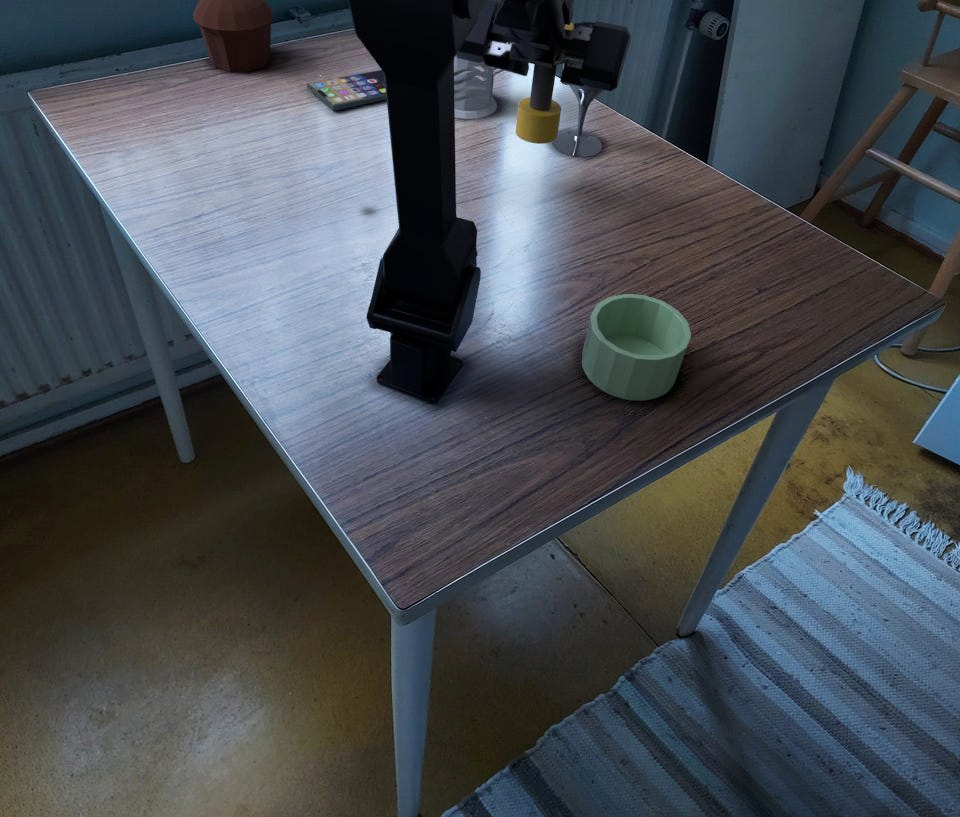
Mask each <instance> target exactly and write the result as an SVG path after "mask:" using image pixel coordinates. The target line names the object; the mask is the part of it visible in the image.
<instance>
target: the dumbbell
mask: <svg viewBox="0 0 960 817" xmlns="http://www.w3.org/2000/svg"><path fill="white" fill-rule="evenodd" d="M573 24H574V23H573V22H571V23H570V25H566V24H565V29H566V30H571V31H573V30H574V25H573ZM566 39H567V38H566ZM561 55H562V54H561ZM565 57H566V55H564V60H563V62H562V63H557V62H554V66H553V68H550V67H545V66H540V65H536V64H533V72H532V80H531V89H530V96H528V97H525V98H522V99H521V100H520V101H519V102H518V106H517V115H516V124H515V134H516V136H517V137H518V138H519V139H521V140H522V141H524V142H528V143H532V144H537V145H538V144H539V145H541V144H543V145H544V144H549V143H552V141H554V140H555V139H556V138H557V134H559V128H560V122H561V116H562V115H561V114H562V106H561V104H560V103H559V102H558V101H555V100H554V99H553V95H554V89H555V80H556V74H557V67H558V66H559V65H563V63H565V62H566V58H565Z"/></svg>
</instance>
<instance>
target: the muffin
mask: <svg viewBox="0 0 960 817" xmlns="http://www.w3.org/2000/svg"><path fill="white" fill-rule="evenodd" d="M192 15H193V21H194V23H195V24H196V25H197V26H198V27H199V31H200V33H201V36H202V39H203V42H204V45H205V48H206V49H205V50H206V52H207V55H208V58H209V60H210V62H211V63H212V64H213V66H214V68H216V69H220V70H224V71H226V72H229V73H237V72H238V73H239V72H241V73H250V72H252V71H253V72H254V71H256V70H259V69H263V68H265V67H266V65H267V63H268V62H269V61H270V60H271V40H272V38H271V36H272V34H271V33H272V22H273V20H274V19H275V14H274V11H273V9H272V8H271V6H270V4H269V3H268V2H267V0H198V2H197V4H196V6H195V8H194V11H193V13H192Z"/></svg>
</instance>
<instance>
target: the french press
mask: <svg viewBox="0 0 960 817" xmlns="http://www.w3.org/2000/svg"><path fill="white" fill-rule="evenodd" d="M496 14H497V13H496ZM495 17H496V15H495ZM476 67H477V68H476ZM478 67H480V68H481V69H482V70H480V69H478ZM495 70H498V69H497V68H494V67H489V66H487V65H485V63H484V62H481V63H477V62H473V61H468V60H464V59H459V58H457V56H456V55H455V57H454V100H455V119H456V118H457V119H463V120H473V119H474V120H475V119H476V120H477V119H482V118H485V117H489V116H490V115H492V114H493V113H495V112H496V111H497V108H498V104H497V102H496V100H495V99H494V97H493V93H494V92H493V91H494V82H495V81H494V79H495V76H496V75H498V74H501V73H502V72H504V71H505V70H501V69H499V70H498V71H495ZM479 77H481V78H479ZM482 79H483V80H482Z"/></svg>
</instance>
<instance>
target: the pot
mask: <svg viewBox="0 0 960 817" xmlns="http://www.w3.org/2000/svg"><path fill="white" fill-rule="evenodd" d="M691 339H692V332H691V328H690V324H689V322H688V320H687V319H686V318H685V317H684V315H683V314H682V313H681V312H680V310H678V309H677V308H675V307H673V306H671V305H670V304H669V303H667V302H666V301H664V300H661V299H658V298H655V297H651V296H648V295H646V294H634V293H633V294H632V293H623V294H618V295H612V296H609V297H606V299H604V300H602V301H600V302H599V303H597V304H596V305H595V306H594V309H593V310H592V312H591V313H590V317H589V321H588V325H587V331H586V335H585V338H584V344H583V347H582V352H581V355H582V357H581V366H582V369H583V372H584V374H585V376H586V377H587V379H588V380H589V381H590V382H591V383H592V384H593V385H594V386H595V387H596V388H598V390H601V392H604V393H606V394H608V395H610V396H613V397H615V398H618V399H621V400H626V401H627V400H628V401H635V402H636V401H637V402H638V401H639V402H640V401H641V402H643V401H650V400H654V399H657V398H660V397H662V396H664V395H666V394H667V393H668V392H670V391H671V389H672V388H673V387H674V385H675V383H676V380H677V377H678V376H679V373H680V371H681V368H682V364H683V362H684V359H685V356H686V353H687V350H688V348H689V344H690V341H691Z"/></svg>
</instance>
